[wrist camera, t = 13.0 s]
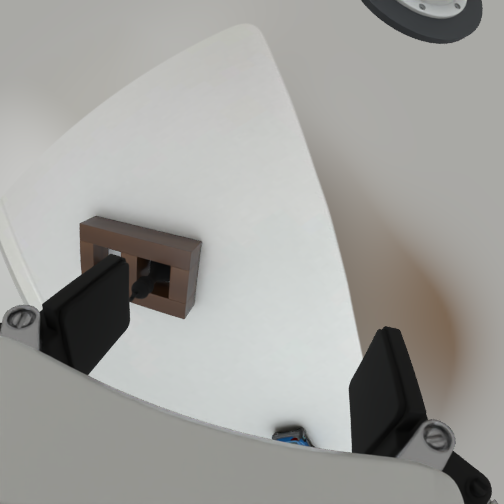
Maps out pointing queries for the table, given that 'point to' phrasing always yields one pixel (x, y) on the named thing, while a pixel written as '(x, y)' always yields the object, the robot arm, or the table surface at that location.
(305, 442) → the toy car
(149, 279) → the chess piece
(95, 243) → the socket base
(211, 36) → the table surface
